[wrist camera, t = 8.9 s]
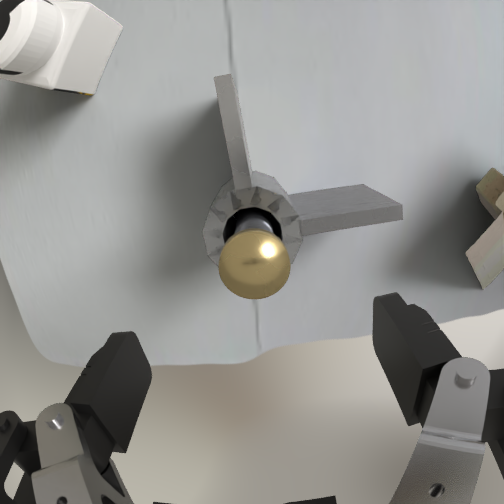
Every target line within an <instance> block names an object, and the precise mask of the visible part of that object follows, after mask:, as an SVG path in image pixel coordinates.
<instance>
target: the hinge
mask: <svg viewBox="0 0 504 504" xmlns="http://www.w3.org/2000/svg"><path fill="white" fill-rule="evenodd" d="M214 81H215V87H216V92H217V97H218V102H219V108H220V113H221V118H222V123H223V129H224V134H225V139H226V144H227V149H228V154H229V160H230V165H231V170H232V175H233V178H232V179H230V180H229V181H228V182H227V183H226V184H225V185H223V186H222V188H221V189H220V191H219V193H218V195H217V196H216V198H215V200H214V202H213V203H212V205H211V207H210V210H209V213H208V216H207V219H206V222H205V225H204V228H203V231H202V233H203V237H204V242H205V246H206V250H207V254H208V257H209V258H210V259H211V260H212V261H213V262H214V263H215V264H216V265H217V266H218V267H219V259H220V255H221V251H222V248H223V246H224V245H225V243H226V242H227V240H228V239H229V238H230V237H231V236H233V235H234V234H235V228H236V223H237V220H236V218H235V217H234V216H233V214H234V213H236V212H237V211H238V210H239V209H244V208H250V207H258V208H261V209H264V210H266V211H269V212H271V213H272V216H271V223H272V228H273V233H274V234H275V235H276V236H278V237H279V238H280V239H281V240H282V242H283V243H284V245H285V247H286V249H287V251H288V255H289V259H290V265H291V264H293V261H294V259H295V257H296V254H297V252H298V250H299V248H300V245H301V243H302V241H303V239H302V236H304V235H310V234H316V233H322V232H328V231H335V230H341V229H347V228H353V227H359V226H366V225H372V224H378V223H385V222H391V221H397V220H403V211H402V204H400V203H398V202H396V201H394V200H392V199H390V198H389V197H387V196H385V195H383V194H381V193H379V192H377V191H375V190H373V189H371V188H369V187H368V186H366V185H364V184H361V185H353V186H346V187H338V188H331V189H324V190H317V191H311V192H304V193H297V194H291V195H288V194H287V192H286V191H285V190H284V189H283V188H282V186H281V185H280V184H279V183H278V182H277V180H276V179H275V178H274V177H272V176H269V175H266V174H264V173H261V172H258V171H252V167H251V162H250V156H249V151H248V146H247V140H246V135H245V129H244V124H243V119H242V113H241V108H240V103H239V98H238V92H237V89H236V87H235V84H234V81H233V78H232V75H231V74H227V75H222V76H217V77H214Z"/></svg>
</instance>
